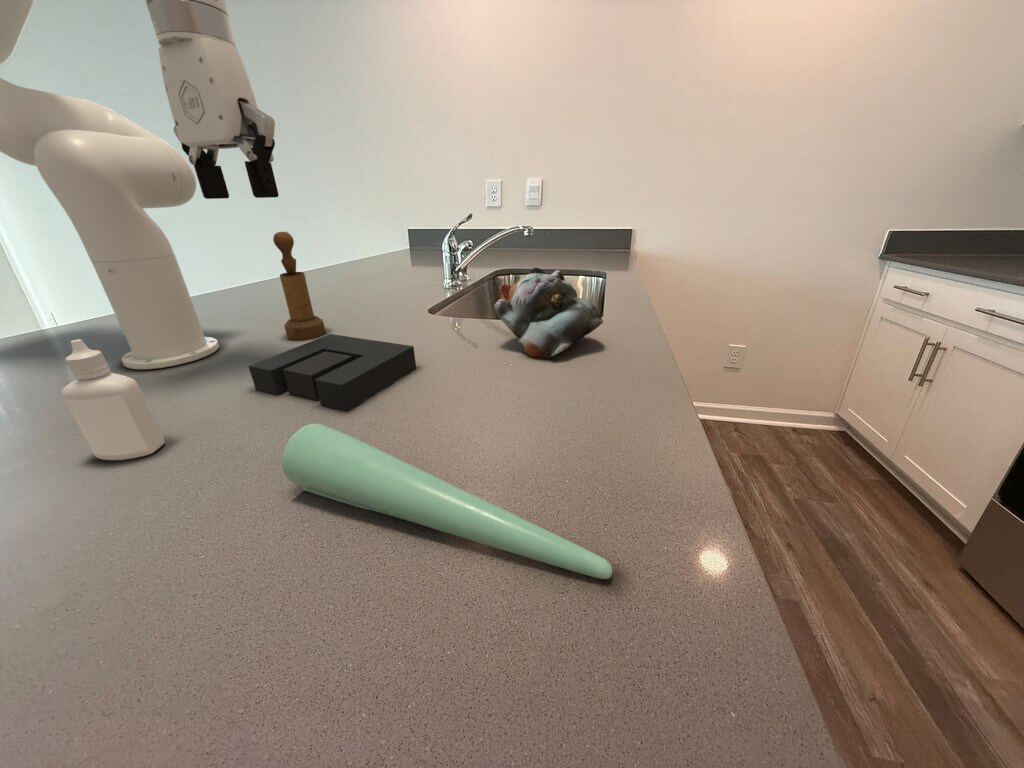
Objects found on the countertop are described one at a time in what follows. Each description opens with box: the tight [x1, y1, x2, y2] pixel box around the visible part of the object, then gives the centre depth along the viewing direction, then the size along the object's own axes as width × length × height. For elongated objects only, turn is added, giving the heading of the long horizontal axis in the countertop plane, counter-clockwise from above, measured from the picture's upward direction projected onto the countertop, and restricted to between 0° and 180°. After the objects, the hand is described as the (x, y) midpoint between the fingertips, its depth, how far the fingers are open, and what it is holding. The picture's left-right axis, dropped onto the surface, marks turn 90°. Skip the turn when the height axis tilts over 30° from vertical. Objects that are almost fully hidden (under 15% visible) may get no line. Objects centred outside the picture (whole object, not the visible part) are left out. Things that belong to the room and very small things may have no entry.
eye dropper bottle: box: [61, 339, 165, 461], centre depth 39 cm, size 4×6×12 cm
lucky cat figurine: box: [493, 267, 604, 360], centre depth 66 cm, size 15×12×14 cm
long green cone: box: [281, 423, 613, 580], centre depth 31 cm, size 5×6×27 cm
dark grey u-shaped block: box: [247, 333, 417, 412], centre depth 56 cm, size 16×14×4 cm
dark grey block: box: [283, 352, 353, 401], centre depth 54 cm, size 5×7×4 cm
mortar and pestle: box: [272, 231, 326, 341], centre depth 72 cm, size 7×6×18 cm
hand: (241, 197), depth 54 cm, fingers open, 9 cm apart
